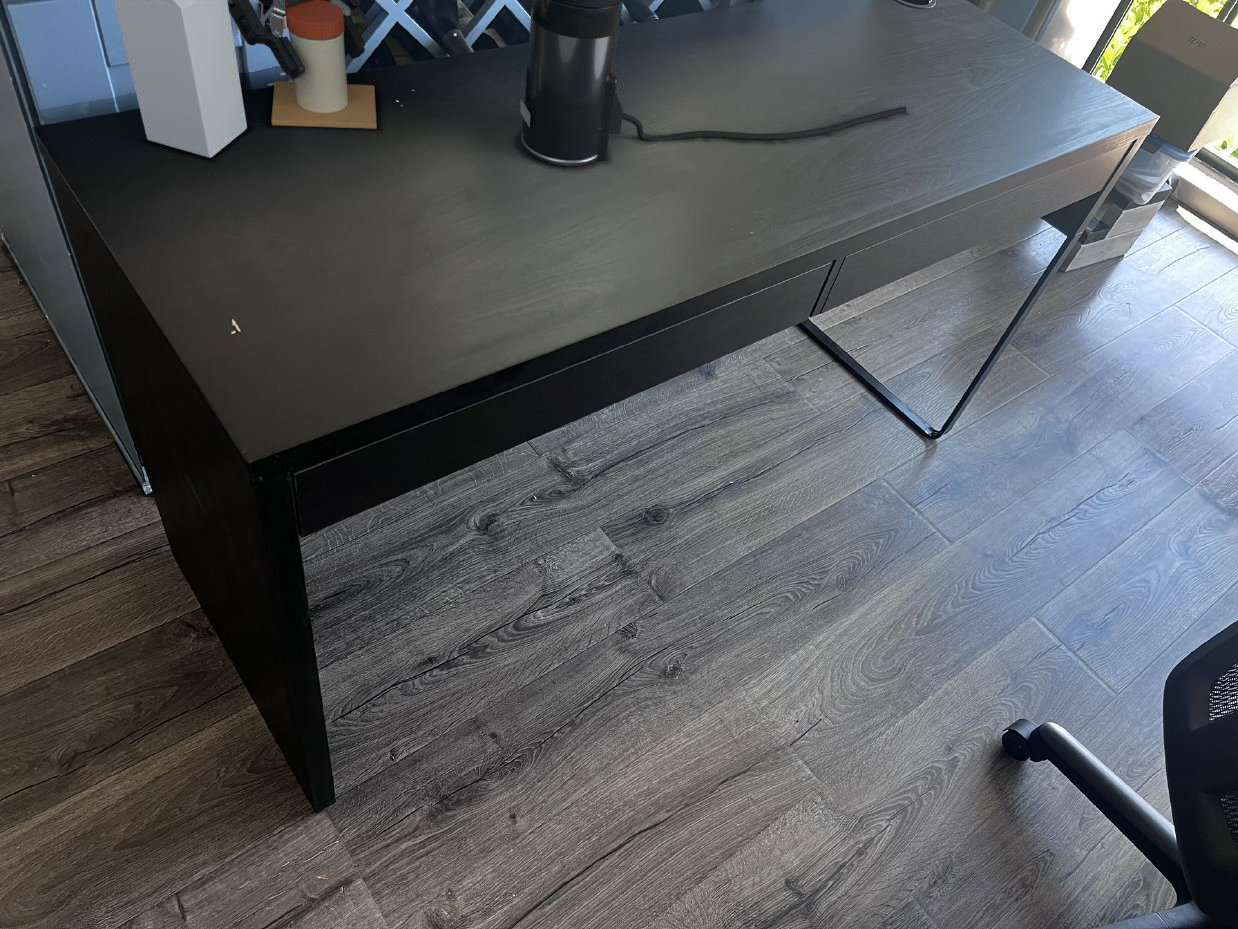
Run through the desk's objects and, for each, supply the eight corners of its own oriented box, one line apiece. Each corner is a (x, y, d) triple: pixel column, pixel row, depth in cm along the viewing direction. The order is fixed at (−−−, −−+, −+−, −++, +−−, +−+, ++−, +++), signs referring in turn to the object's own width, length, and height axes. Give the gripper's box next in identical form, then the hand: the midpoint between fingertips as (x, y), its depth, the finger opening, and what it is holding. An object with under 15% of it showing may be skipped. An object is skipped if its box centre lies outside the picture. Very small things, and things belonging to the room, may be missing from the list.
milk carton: (248, 129, 100) (218, -63, 87) (210, 160, 96) (173, -39, 82) (187, 112, 101) (148, -82, 87) (147, 141, 96) (98, -58, 82)
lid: (344, 17, 102) (343, 1, 101) (344, 41, 98) (343, 24, 97) (287, 13, 101) (286, -3, 100) (286, 37, 97) (284, 21, 96)
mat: (374, 90, 110) (374, 85, 110) (376, 129, 104) (376, 123, 104) (275, 85, 107) (274, 80, 107) (271, 125, 102) (271, 120, 101)
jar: (348, 90, 108) (342, 6, 101) (348, 114, 104) (342, 28, 98) (297, 87, 107) (287, 2, 100) (295, 112, 103) (285, 25, 96)
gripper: (195, -96, 90) (291, 68, 94) (313, -119, 98) (395, 33, 103) (171, -55, 95) (263, 98, 100) (284, -80, 104) (364, 62, 109)
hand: (330, 65), depth 102 cm, fingers open, 8 cm apart
